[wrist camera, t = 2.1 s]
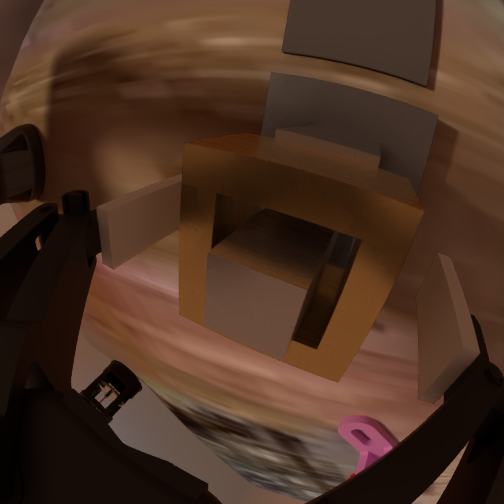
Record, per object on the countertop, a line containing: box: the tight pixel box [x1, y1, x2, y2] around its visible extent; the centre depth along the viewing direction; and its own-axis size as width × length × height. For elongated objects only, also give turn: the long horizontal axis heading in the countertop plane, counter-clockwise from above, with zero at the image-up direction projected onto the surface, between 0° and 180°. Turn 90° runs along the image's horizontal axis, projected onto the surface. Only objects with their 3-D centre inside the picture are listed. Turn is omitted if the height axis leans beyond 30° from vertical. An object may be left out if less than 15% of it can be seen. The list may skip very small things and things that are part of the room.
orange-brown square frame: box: [179, 133, 424, 382], centre depth 12 cm, size 8×8×5 cm
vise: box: [203, 72, 438, 360], centre depth 16 cm, size 12×19×16 cm, turn 171°
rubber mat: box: [282, 0, 436, 87], centre depth 14 cm, size 11×9×1 cm
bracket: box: [338, 415, 398, 475], centre depth 30 cm, size 13×6×7 cm, turn 46°
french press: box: [79, 360, 142, 423], centre depth 47 cm, size 12×9×23 cm
